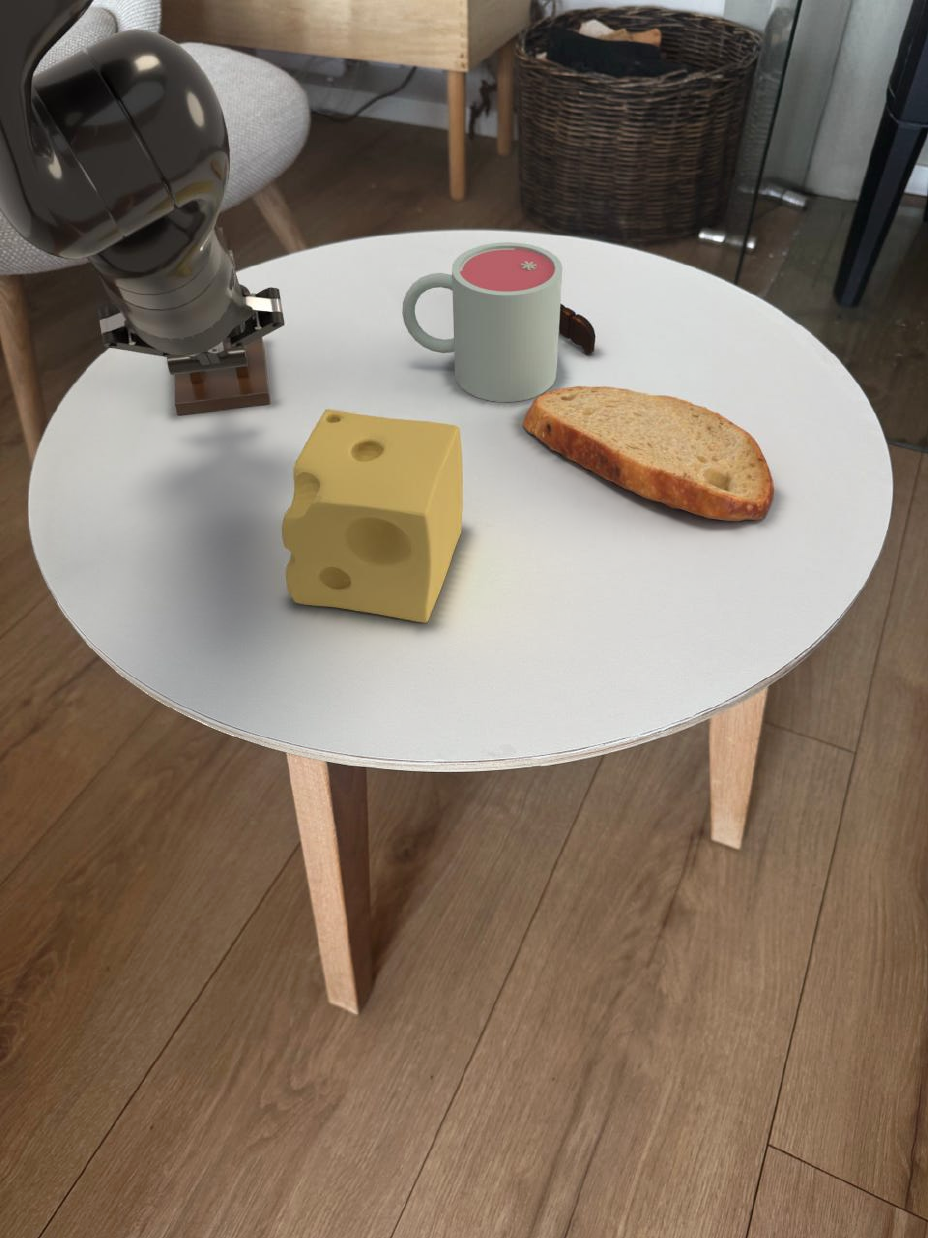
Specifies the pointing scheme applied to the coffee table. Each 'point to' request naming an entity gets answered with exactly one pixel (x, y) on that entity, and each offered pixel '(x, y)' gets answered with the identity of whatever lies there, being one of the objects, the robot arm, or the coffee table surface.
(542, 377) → the mug
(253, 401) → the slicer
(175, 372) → the lever
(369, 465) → the cheese
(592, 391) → the slice of bread
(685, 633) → the coffee table surface
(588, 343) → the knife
